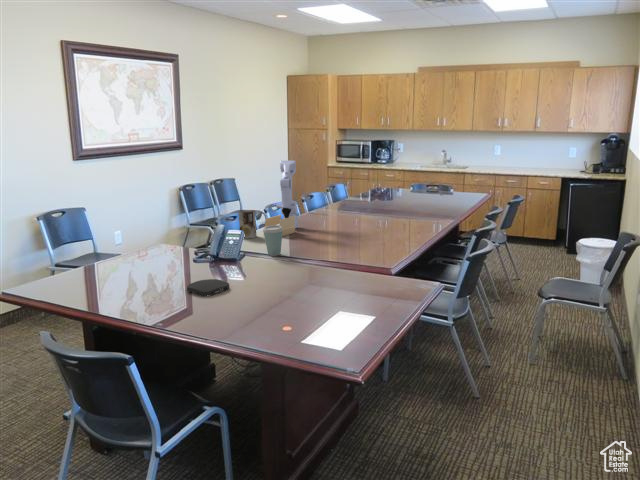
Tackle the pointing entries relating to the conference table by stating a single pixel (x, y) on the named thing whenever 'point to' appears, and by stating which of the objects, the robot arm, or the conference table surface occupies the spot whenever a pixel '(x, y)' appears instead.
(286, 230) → the carton
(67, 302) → the conference table surface
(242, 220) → the coffee box
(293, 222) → the flap
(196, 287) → the media streaming box
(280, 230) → the disposable coffee cup
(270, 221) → the flap
